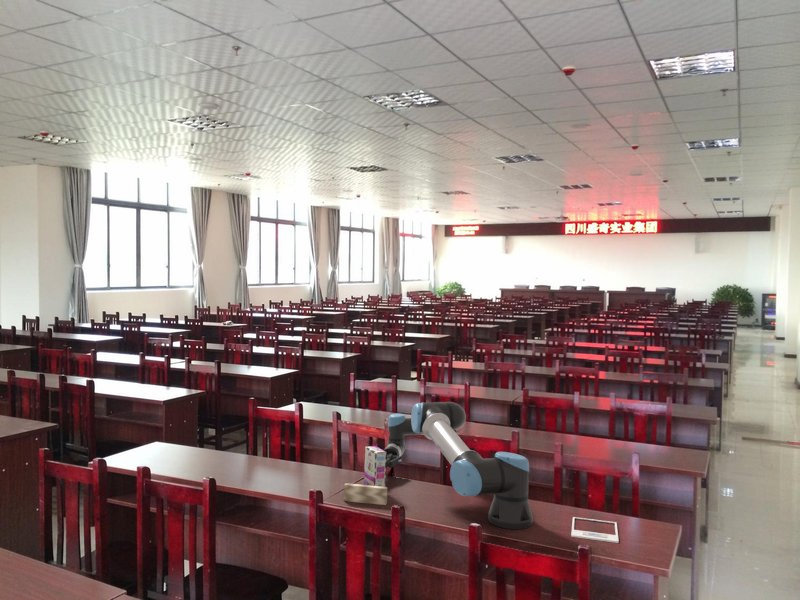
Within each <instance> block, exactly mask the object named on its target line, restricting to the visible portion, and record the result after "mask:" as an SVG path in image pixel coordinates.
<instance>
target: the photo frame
mask: <svg viewBox="0 0 800 600" xmlns="http://www.w3.org/2000/svg"><path fill="white" fill-rule="evenodd" d="M575 519H576V520H585V521H593V522H599V523H600V522H601V523H607V524H614V532H615V534H610V533H602V532H601V533H600V532H595V531H586V530H579V529H575ZM570 537H571V538H577V539H585V540H586V539H587V540H591V541H592V540H593V541H601V542H609V543H614V544H615V543H616V544H619V532H618V524H617V521H608V520H599V519H592V518H584V517H576V516H572V524H571V533H570Z"/></svg>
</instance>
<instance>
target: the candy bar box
mask: <svg viewBox="0 0 800 600" xmlns="http://www.w3.org/2000/svg"><path fill="white" fill-rule="evenodd" d="M364 447H365V448H364V449H365V450H364V469H363V470H364V471H363V476H364V477H363V485H370V486H381V487H386V479H387V468H386V455H387V452H385V451H384V449H381V448H380V447H378V446H377V445H370V446H364Z"/></svg>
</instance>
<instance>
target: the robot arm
mask: <svg viewBox="0 0 800 600" xmlns="http://www.w3.org/2000/svg"><path fill="white" fill-rule="evenodd" d="M465 411H466V410H465V409H464V408H463V407H462V406H461V405H460V404H459V403H456V402H453V401H437V402H435V401H434V402H423V401H422V402H418V403H415V404H414V405H413V407H412V409H411V414H410V417H409V418H408V417H407V418H406V415H404V414H402V413H391V414H389V416H388V423H387V432H388V431H389V432H390V436H389V438H388V437H387V446H386V447H385V448H384V449H383V450H384V451H385V452H387V455H386V469H387V468H389V469H392V468H393V467H395V466H397V465H399V464H402V463H403V462H402V461H403V457H402V456H403V455H404V454H405V452H406V448H407V446H406V443H405V436H414V435H415V436H417V435H423V436H424V438H426V439H428V440H430V441H433V443H434V444H435V446H436V447H437V448H438V449H439V451H440V452H441V453H442V455H443V456H444V457H445V460H447V461H448V462H449V464H450V465H451V466H450V471H449V478H450V481H451V485H452V487H453V490H454V491H455V492H456V493H457V494H458V495H459V496H462V497H475V496H484V495H493V499H492V502H491V505H490V508H489V510H488V514H487V520H488V522H489V523H490V524H491V525H493V526H496V527H498V528H502V529H508V530H523V529H528V528H530V527H532V525H533V519H534V518H533V513H532V511H531V510H532V509H531V507H530V504H529V481H530V480H529V478H530V462H529V459H528V458H526V457H525V456H523V455H520V454H517V453H513V452H507V451H498V452H496V453H495V454H494V457H493V458H483V457H482V456H481V454H480V453H479V452H477V451H476V450H472V449H470V448H469V447H468V445H466V443H465V442H464V441H463V440H462V438H461V437H460V436H459V435H458V433H457V432H456V431H457V430H459V429H461V428H462V427H463V426H464V425H465V423H466V420H467V414H466V412H465ZM388 439H389V440H388ZM391 440H392V441H391Z"/></svg>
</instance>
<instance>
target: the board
mask: <svg viewBox="0 0 800 600" xmlns="http://www.w3.org/2000/svg"><path fill="white" fill-rule="evenodd" d="M343 502H351V503H362V504H370V505H381V506H387V504H388V486H385V487H381V486H370V485H364V484H358V483H348V482H346V483H344V484H343Z"/></svg>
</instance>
